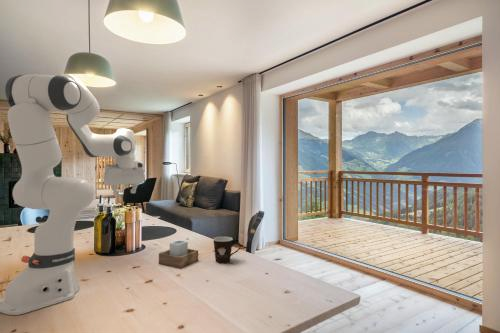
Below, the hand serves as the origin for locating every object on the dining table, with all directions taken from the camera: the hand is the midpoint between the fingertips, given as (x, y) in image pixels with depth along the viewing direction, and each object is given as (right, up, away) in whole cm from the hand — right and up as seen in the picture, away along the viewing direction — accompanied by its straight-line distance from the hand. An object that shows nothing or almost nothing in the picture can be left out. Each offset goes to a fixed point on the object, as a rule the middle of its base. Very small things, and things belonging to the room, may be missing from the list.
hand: (124, 194), depth 142 cm
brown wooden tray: (+26, -30, -6) cm, 40 cm away
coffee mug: (+47, -30, -5) cm, 56 cm away
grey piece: (+26, -29, -6) cm, 39 cm away
